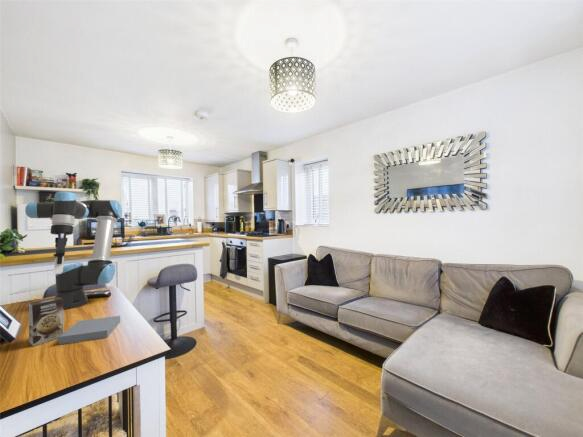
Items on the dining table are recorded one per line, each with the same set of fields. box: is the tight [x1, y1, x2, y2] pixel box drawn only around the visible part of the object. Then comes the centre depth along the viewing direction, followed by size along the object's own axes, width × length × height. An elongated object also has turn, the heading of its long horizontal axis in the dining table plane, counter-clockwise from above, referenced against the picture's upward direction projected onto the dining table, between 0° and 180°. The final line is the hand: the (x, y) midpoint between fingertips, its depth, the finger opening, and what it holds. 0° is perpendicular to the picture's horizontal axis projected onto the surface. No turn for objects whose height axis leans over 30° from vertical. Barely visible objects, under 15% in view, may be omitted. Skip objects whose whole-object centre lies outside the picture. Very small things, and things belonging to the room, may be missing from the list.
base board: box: [58, 315, 121, 346], centre depth 106 cm, size 16×16×3 cm
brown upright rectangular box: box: [28, 296, 64, 347], centre depth 100 cm, size 9×6×16 cm
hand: (57, 273), depth 107 cm, fingers open, 13 cm apart
